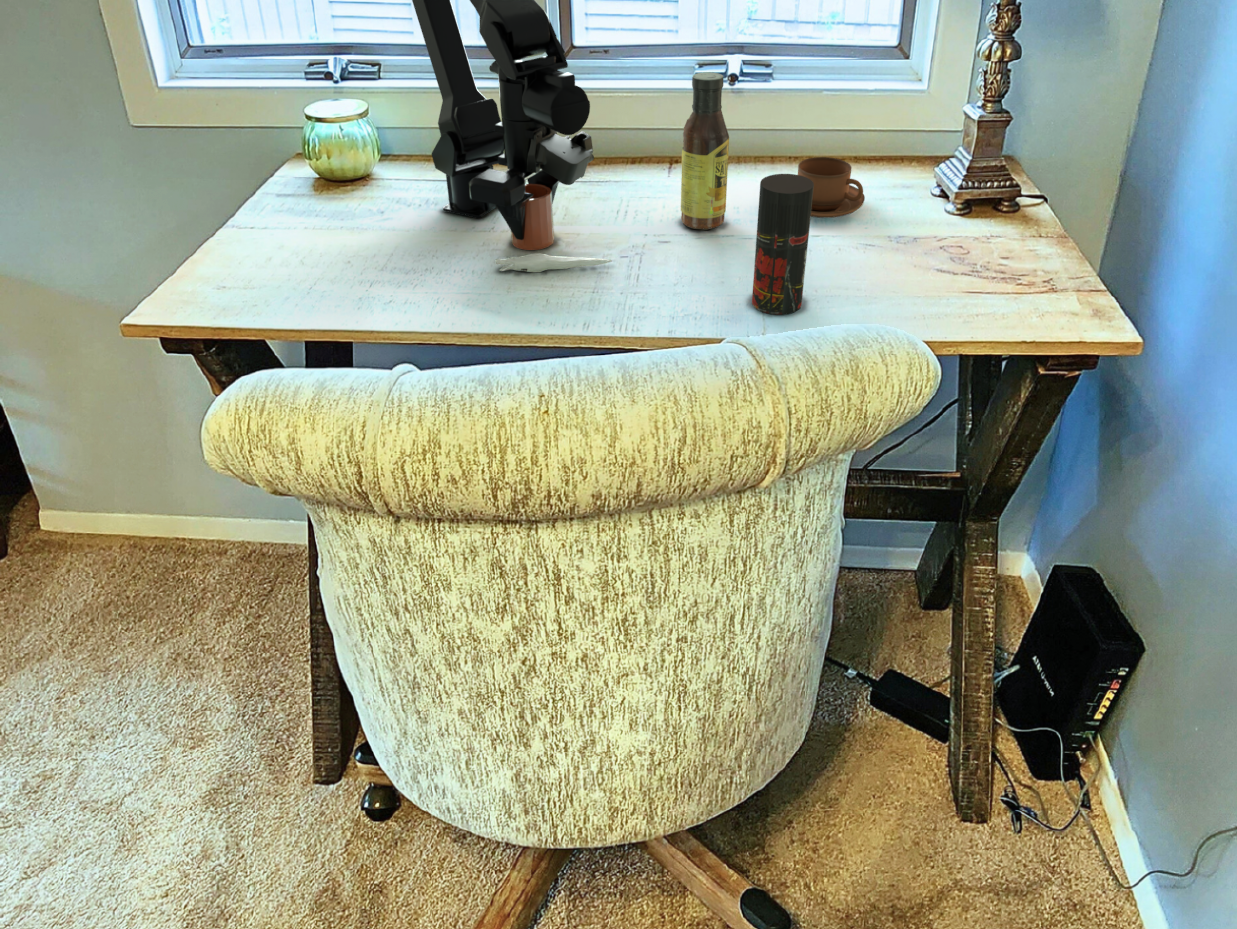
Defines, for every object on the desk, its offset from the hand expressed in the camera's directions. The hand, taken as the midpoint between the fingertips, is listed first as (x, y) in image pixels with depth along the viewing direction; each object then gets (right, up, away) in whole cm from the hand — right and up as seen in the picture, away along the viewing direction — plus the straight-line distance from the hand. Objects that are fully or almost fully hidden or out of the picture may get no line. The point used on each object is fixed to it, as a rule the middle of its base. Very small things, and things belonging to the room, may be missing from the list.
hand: (532, 230), depth 138 cm
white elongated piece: (+3, -6, -6) cm, 9 cm away
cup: (0, -1, +1) cm, 2 cm away
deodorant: (+31, -12, -14) cm, 36 cm away
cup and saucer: (+41, +5, +9) cm, 42 cm away
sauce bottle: (+23, +2, +5) cm, 24 cm away
